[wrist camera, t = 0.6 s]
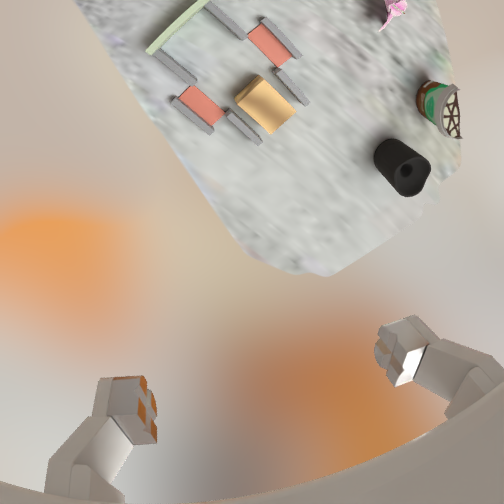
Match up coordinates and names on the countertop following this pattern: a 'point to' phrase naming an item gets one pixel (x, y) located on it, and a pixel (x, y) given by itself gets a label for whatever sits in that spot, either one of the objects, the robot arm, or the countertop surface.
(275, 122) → the honey block
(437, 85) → the food container
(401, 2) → the lily
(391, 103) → the countertop surface
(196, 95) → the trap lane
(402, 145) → the pen holder
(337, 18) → the countertop surface
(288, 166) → the countertop surface
